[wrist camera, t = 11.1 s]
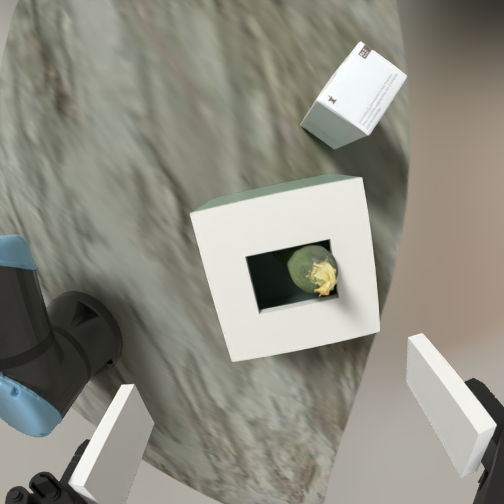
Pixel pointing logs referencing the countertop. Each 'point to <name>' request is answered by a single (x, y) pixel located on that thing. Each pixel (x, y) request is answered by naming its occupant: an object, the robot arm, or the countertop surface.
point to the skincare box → (354, 98)
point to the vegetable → (310, 267)
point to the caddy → (277, 274)
